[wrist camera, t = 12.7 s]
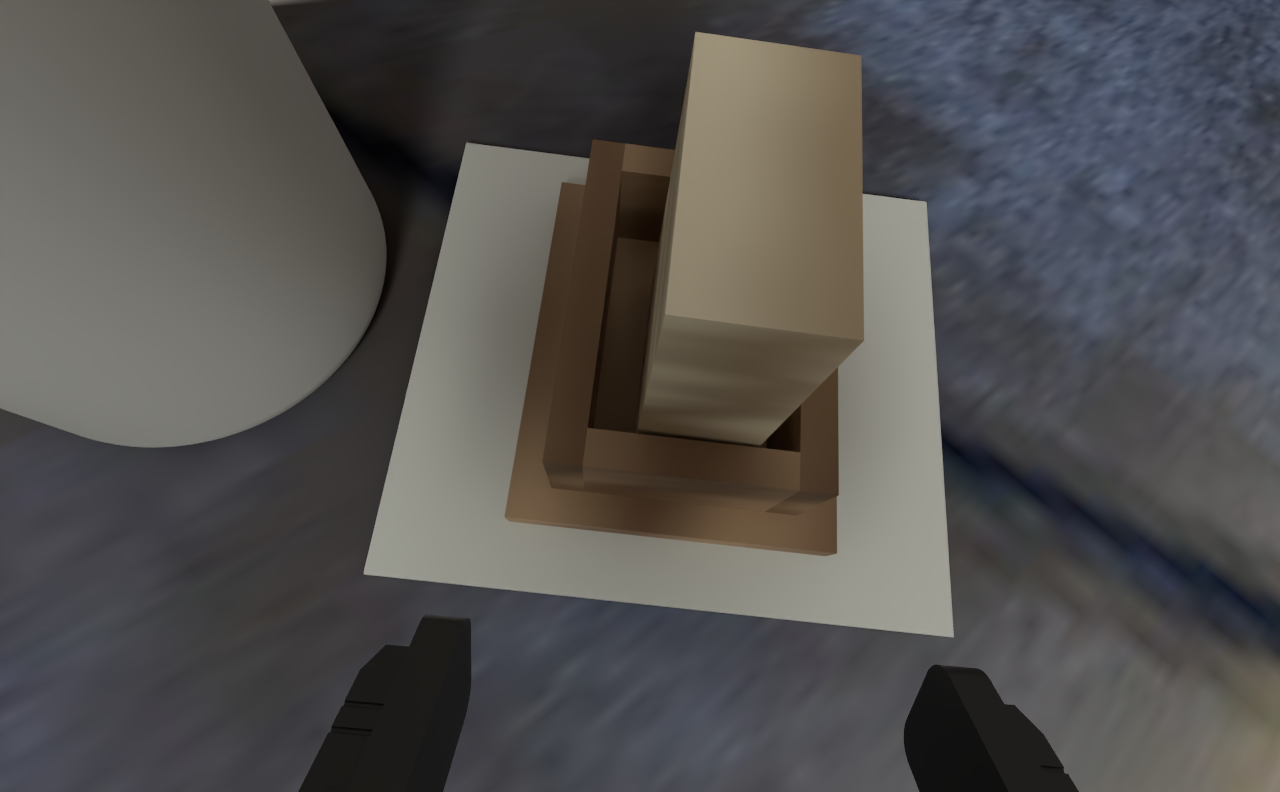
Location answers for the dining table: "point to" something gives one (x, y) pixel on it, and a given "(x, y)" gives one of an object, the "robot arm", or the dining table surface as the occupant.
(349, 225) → the cylinder vase
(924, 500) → the mat
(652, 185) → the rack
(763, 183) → the beech block
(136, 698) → the dining table surface
